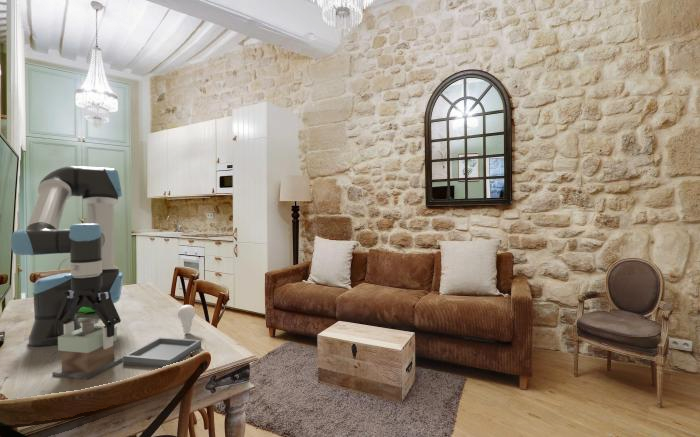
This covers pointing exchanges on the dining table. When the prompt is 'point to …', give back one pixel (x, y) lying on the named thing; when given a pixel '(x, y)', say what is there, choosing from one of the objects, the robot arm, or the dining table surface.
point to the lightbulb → (186, 317)
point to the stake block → (87, 357)
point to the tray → (162, 352)
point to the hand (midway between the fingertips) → (88, 345)
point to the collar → (83, 340)
